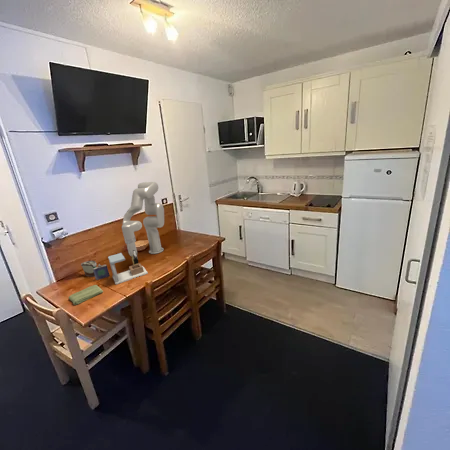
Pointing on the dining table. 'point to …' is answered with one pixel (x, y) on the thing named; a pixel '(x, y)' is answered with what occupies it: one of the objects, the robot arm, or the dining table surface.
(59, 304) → the dining table surface
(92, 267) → the food container
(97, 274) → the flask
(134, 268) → the socket station
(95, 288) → the washcloth
